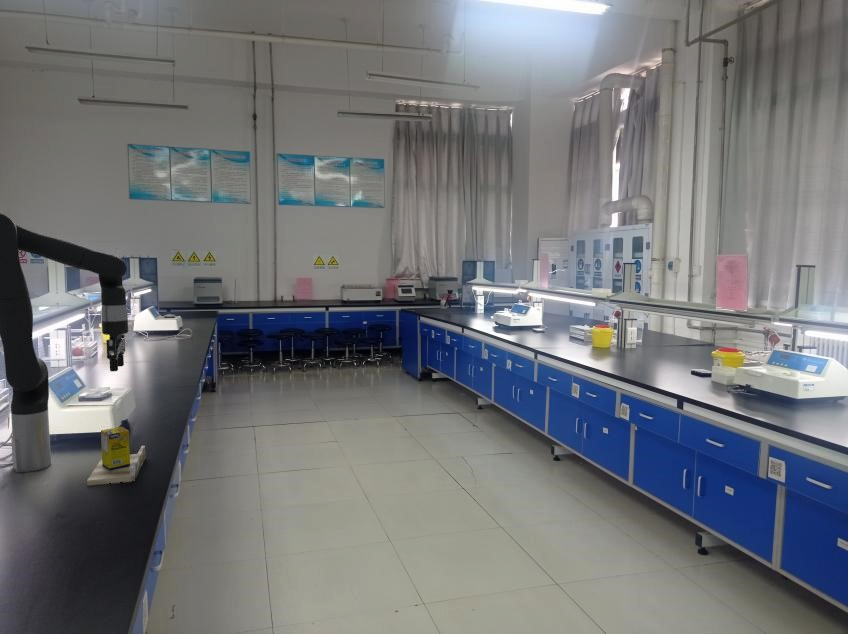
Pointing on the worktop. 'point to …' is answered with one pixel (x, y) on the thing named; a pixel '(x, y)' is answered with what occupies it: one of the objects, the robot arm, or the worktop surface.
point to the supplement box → (115, 448)
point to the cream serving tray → (118, 471)
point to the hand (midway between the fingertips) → (117, 368)
